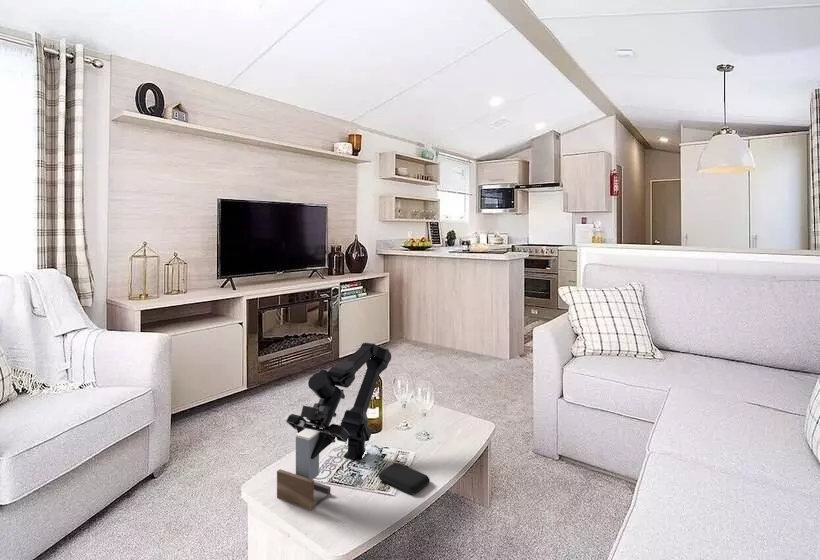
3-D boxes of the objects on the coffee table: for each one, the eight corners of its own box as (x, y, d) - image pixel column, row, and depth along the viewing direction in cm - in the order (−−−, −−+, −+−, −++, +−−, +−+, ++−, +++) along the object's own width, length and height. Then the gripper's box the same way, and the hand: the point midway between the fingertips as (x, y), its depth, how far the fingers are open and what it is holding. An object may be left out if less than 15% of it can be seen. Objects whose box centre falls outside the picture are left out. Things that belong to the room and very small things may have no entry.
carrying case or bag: (434, 482, 140) (396, 466, 148) (434, 473, 139) (397, 457, 148) (413, 498, 131) (375, 480, 140) (413, 488, 131) (375, 471, 140)
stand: (297, 482, 137) (297, 457, 136) (330, 493, 132) (330, 467, 131) (276, 497, 129) (276, 470, 128) (310, 510, 124) (311, 482, 123)
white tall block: (305, 470, 133) (305, 428, 131) (318, 474, 131) (319, 431, 129) (295, 478, 129) (295, 434, 127) (309, 482, 127) (309, 438, 125)
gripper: (290, 387, 134) (264, 438, 126) (343, 399, 127) (320, 454, 118) (306, 404, 142) (283, 453, 134) (358, 415, 135) (336, 468, 126)
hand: (304, 456), depth 128 cm, fingers closed on white tall block, 5 cm apart
